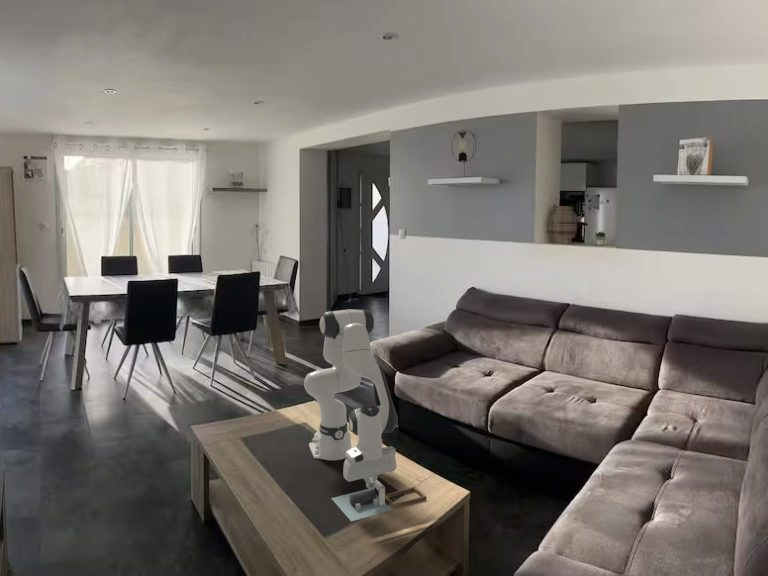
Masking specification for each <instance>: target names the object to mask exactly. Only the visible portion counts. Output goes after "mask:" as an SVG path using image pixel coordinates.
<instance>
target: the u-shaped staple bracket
mask: <svg viewBox="0 0 768 576" xmlns="http://www.w3.org/2000/svg"><path fill="white" fill-rule="evenodd" d="M372 477H373V476H371V477H369V479H367V480H368V481H371V480H372ZM367 489H368V491H370V490H375V489H376V490H377V491H378V497H379V505H380V506H382V505H385V504H386V500H385V494H386V487H385V486H384V485H383V484H382V483H381V482H380V481H379V480H378V478H377V479H376V481H375V486H373V487H369V488H367Z"/></svg>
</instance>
